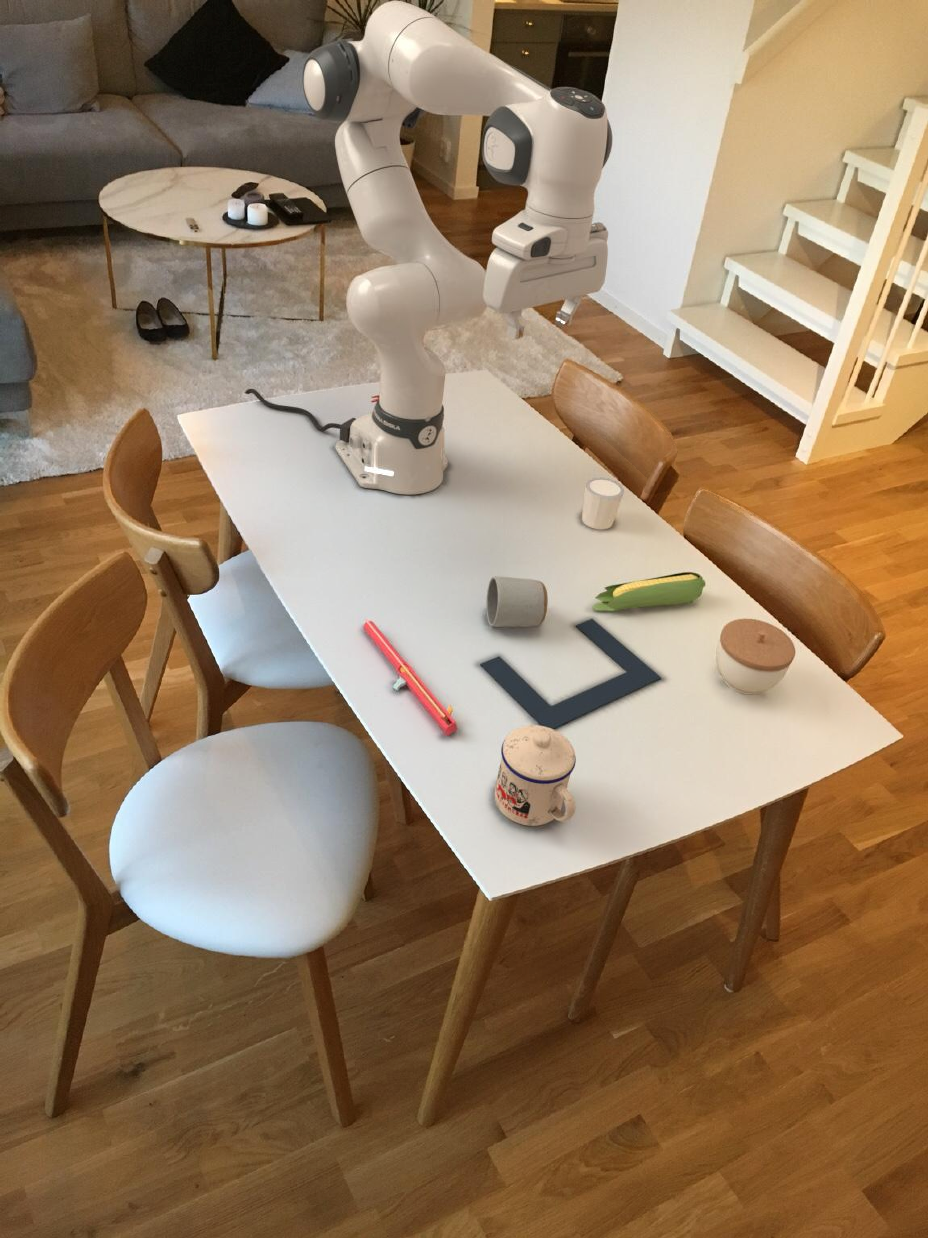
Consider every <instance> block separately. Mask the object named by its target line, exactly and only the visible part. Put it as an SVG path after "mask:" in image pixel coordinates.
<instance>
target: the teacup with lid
mask: <svg viewBox="0 0 928 1238" xmlns="http://www.w3.org/2000/svg"><path fill="white" fill-rule="evenodd" d="M500 750H501V751H500V752H501V753H500V754H501V758H500V764H499V768H498V772H497V779H496V783H495V789H494V802H495V804H496V806H497V809H498V810H499V812H501V813H502V815H503V816H505V817H506V818H507V819H508V820H510V821H512V822H514V823H516V824H520V825H523V826H529V827H536V826H543V825H546V824H548V823H551V822H552V821H553V820H554V819H555V820H557V821H558V822H562V823H564V822H567V821H569V820H570V819H572V818H573V817H574V814H575V813H576V803H575V800H574V797H573V795H572V793H571V792H570V791H569V790H568V786H569V781H570V778H571V774H572V772H573V771H574V769H575V767H576V763H577V762H576V761H577V760H576V758H577V756H576V752H575V749H574V747H573V745H572V743H571V742H570V741H569V739H568V738H567V737H566V736H565V735H563V734H562V733H561V732H559V731H558V730H556V729H551V728H548V727H544V726H541V725H539V724H538V725H537V724H535V725H534V724H533V725H532V724H531V725H525V726H521V727H518V728H516V729H514V730H513V731H511V732H510V733H509V734H508V735H507V736H506V737H505V739H504V740H503V741H502V744H501V749H500ZM563 804H564V807H565V813H564V812H562V811H561V810H562V807H563Z"/></svg>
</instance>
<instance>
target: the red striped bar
mask: <svg viewBox="0 0 928 1238" xmlns="http://www.w3.org/2000/svg"><path fill="white" fill-rule="evenodd" d="M364 621H365V623H364V624H363V630H364V631H365V632H366V633H367V635H368V636H369V637H370V638H371V640H372V641H373V643H374V644H375V645H376V646H377V647H378V649H379V650H380V651H381V652H382V654H383V655H384V656H385V657H386V658H387V659H388V661H389V662H390V663H391V665H392V666H393V667H394V668H395V669H396V673H397V674H398V675H399V678H397V679H396V682H395V683H394V684H393V685H392V687H393V689H394V690H395V691H396V692H398V691H399V690H400V688H402V687H404V686H407V688H408V689H409V690H410V691H411V693H412V694H413V695H414V696H415V698H416V699H417V700H418V702H419V703H420V704H421V705H422V707H424V709H425V710H426V711H427V713H428V714H429V715H430V717H431V718H432V719H433V720H434V721H435V723H436V724H437V725H438V727H440V729H441V730H442V731H443V732H444V734H445V735H446V736H447V737H449V736H450V735H451V734H453V733H454V732H456V731H457V730H458V726H457V722H456V721H455V720H454V719H453V717H452V716H451V715H452V713H453V706H452V704H449V707H448V708H447V709H445V707H444V706H443V705H442V704H441V702H440V701H439V700H438V698H436V697H435V695H434V693H432V692H431V690H430V689H429V688H428V686H427V685H426V684H425V682H423V681H422V680H421V678H420V677H419V676H418V675H417V674H416V671H415V670H414V668H413V667H412V666H411V665H410V664H409V663H408V661H405V660H404V658H403V657H402V656H401V654H400V653H399V652H398V651H397V650H396V649H395V647H394V646H393V645H392V643H391V642H390V641H389V639H388V638H387V637H386V636H385V635H384V634H383V633H382V631H381V629H379V627H378V626H377V625H376V624H375V623H374V621H373V620H368V619H367V618H365V619H364Z"/></svg>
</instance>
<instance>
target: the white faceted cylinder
mask: <svg viewBox="0 0 928 1238" xmlns="http://www.w3.org/2000/svg"><path fill="white" fill-rule="evenodd" d="M624 495H625V488H624V487H623V486H622V484H621V483H619V482H617V481H616V480H613V479H611V478H607V477H593V478H590V479H588V480H587V481H586V482H585V489H584V497H583V505H582V514H581V521H582V522H583V524H584V525H586V526H587V527H589V528H592V529H595V530H607V529H609V528H611V527H612V526H613V524H614V521H615V519H616V516H617V513H618V510H619V508H620V505H621V502H622V500H623V497H624Z"/></svg>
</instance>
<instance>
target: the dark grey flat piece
mask: <svg viewBox="0 0 928 1238" xmlns="http://www.w3.org/2000/svg"><path fill="white" fill-rule="evenodd" d="M575 628H576V629H577V630H578V631H580V633H582V634H583V635H584V636H585V637H586V638H587V639H589V640H590V641H591V642H592V643H593V644H594V645H595V646H597V647H598V648H599V649H600V650H601V651H603V652H604V653H605V654H606V655H607V656H608V657H609V658H610V659H611V660H612V661H614V662H615V663H616V664H617V665H619V666H620V668H622V669H623V670H624V671H625V672H624V673H621V674H619V675H617V676H614V677H613V678H610V679H608V680H605V681H604V682H602V683H599V684H597V685H595V686H593V687H590V688H588V689H586V690H583V691H581V692H579V693H576V694H575V695H573V696H571V697H568V698H566V699H564V700H562V701H560V702H557V703H555V704H553V705H551V704H550V703H549V702H547V701H546V700H545V699H544V698H543V697H542V696H541V695H540V694H539V693H538V692H537V691H536V690H535V688H533V687H532V686H531V685H530V684H529V683H528V682H527V681H526V680H525V679H524V678H522V677H521V675H519V673H517V672H516V670H514V669H513V668H512V666H511V665H509V664H508V663H507V661H505V660H504V659H503V658H502V657H501V656H499V655H498V656H496V657H494V658H491V659H488V660H486V661H483V662H481V663H480V664H479V666H480V667H481V668H482V669H483V670H484V671H485V672H486V673H487V674H488V675H489V676H490V677H491V678H492V679H494V681H496V683H498V685H499V686H500V687H502V689H503V690H504V691H505V692H506V693H508V695H510V697H511V698H512V699H514V701H515V702H516V703H517V704H518V705H520V707H522V708H523V709H524V710H525V711H526V712H527V713H528V715H530V717H532V718H533V719H534V721H535V722H536V723H537V724H538V725H539V726H544V727H548V728H551V729H553V730H556V729H557V728H559V727H562V726H564V725H566V724H569V723H570V722H572V721H574V720H576V719H579V718H581V717H583V716H585V715H587V714H590V713H592V712H594V711H596V710H598V709H600V708H602V707H604V706H606V705H609V704H610V703H613V702H615V701H618V700H619V699H621V698H623V697H625V696H628V695H630V694H632V693H634V692H636V691H638V690H641V689H643V688H645V687H647V686H649V685H651V684H653V683H655V682H658V681H660V680H661V679H662V677H661V676H660V675H659V674H658V673H657V672H656V671H654V670H653V669H652V668H651V667H650V666H649V665H647V663H645V662H644V661H643V660H641V658H639V657H638V656H637V655H636V654H635V653H633V652H632V651H631V650H630V649H629V648H628V647H626V646H625V645H624V644H623V643H621V641H619V640H618V639H617V638H616V637H614V636H613V634H611V633H610V632H609V631H607V630H606V629H605V628H604V627H603V626H602V625H600V624H599V623H598V622H597V621H596V620H595V619H593V618H590V619H587V620H584V621H583V622H580V623H578V624H575Z"/></svg>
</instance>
